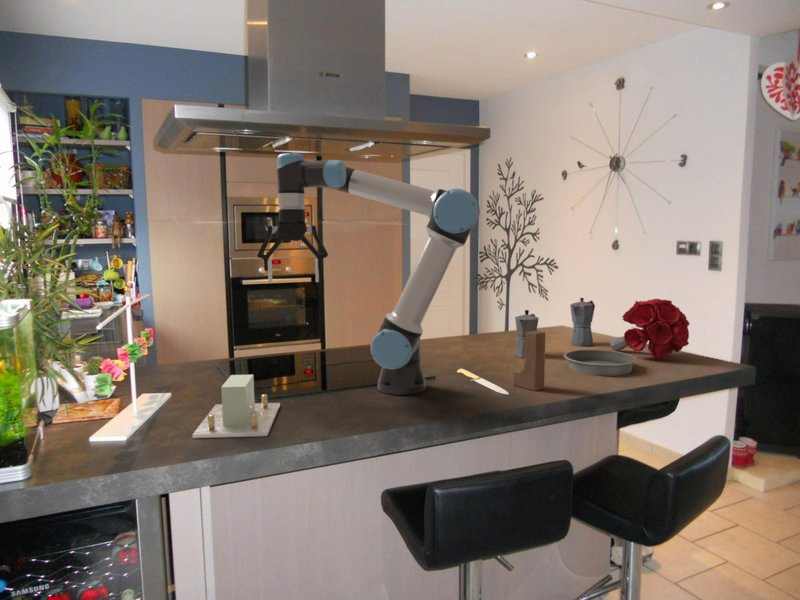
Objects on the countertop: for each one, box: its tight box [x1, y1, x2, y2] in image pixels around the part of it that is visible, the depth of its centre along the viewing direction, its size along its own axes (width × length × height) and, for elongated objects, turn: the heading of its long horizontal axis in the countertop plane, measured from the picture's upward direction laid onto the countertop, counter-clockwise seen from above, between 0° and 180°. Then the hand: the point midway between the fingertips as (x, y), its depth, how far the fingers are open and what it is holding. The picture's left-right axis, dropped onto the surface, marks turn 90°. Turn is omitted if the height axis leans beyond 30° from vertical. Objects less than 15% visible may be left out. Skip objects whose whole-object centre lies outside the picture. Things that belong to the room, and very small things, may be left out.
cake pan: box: [563, 348, 638, 377], centre depth 212 cm, size 25×25×4 cm
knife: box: [456, 368, 509, 395], centre depth 195 cm, size 1×32×5 cm
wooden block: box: [512, 330, 546, 392], centre depth 188 cm, size 9×4×18 cm, turn 39°
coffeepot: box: [514, 309, 539, 359], centre depth 232 cm, size 15×9×18 cm, turn 149°
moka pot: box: [569, 297, 596, 347], centre depth 252 cm, size 10×15×20 cm, turn 133°
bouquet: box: [609, 298, 690, 360], centre depth 229 cm, size 22×24×30 cm
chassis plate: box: [192, 393, 281, 439], centre depth 158 cm, size 18×24×4 cm
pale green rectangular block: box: [220, 374, 256, 425], centre depth 157 cm, size 6×12×10 cm, turn 4°
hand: (293, 282), depth 175 cm, fingers open, 13 cm apart
